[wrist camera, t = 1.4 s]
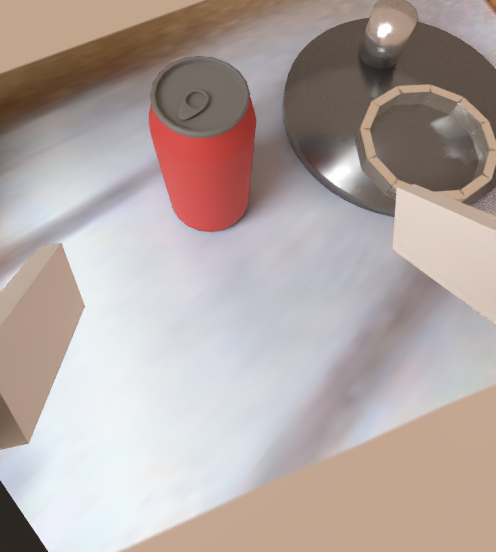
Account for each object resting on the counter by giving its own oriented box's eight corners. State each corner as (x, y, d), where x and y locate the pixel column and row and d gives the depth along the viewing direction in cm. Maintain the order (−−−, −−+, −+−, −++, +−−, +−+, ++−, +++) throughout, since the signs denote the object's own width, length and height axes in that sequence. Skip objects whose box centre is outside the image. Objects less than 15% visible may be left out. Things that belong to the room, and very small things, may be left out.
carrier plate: (245, 159, 34) (247, 118, 29) (330, 1, 41) (344, -54, 36) (481, 257, 32) (527, 232, 27) (530, 75, 39) (574, 27, 34)
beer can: (156, 209, 32) (116, 105, 21) (200, 154, 34) (185, 31, 23) (221, 249, 31) (217, 163, 20) (262, 190, 33) (280, 81, 22)
